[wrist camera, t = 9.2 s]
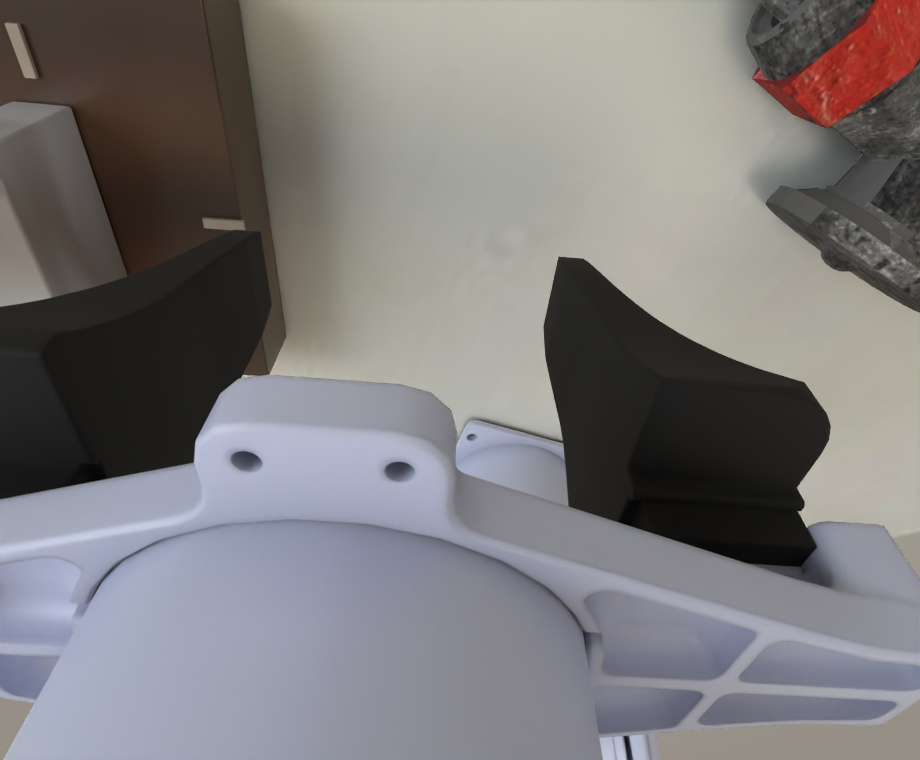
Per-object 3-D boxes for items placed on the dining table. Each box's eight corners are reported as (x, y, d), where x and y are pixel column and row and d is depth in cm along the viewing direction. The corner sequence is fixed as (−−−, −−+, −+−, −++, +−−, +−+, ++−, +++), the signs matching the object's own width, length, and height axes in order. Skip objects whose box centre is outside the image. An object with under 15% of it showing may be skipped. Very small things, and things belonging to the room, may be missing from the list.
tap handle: (136, 299, 22) (77, 367, 18) (89, 296, 22) (21, 363, 18) (71, 105, 17) (-22, 149, 14) (11, 100, 17) (-97, 143, 14)
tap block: (288, 337, 26) (270, 379, 24) (46, 318, 26) (2, 360, 24) (238, -26, 18) (200, -17, 15) (-133, -64, 17) (-233, -61, 15)
